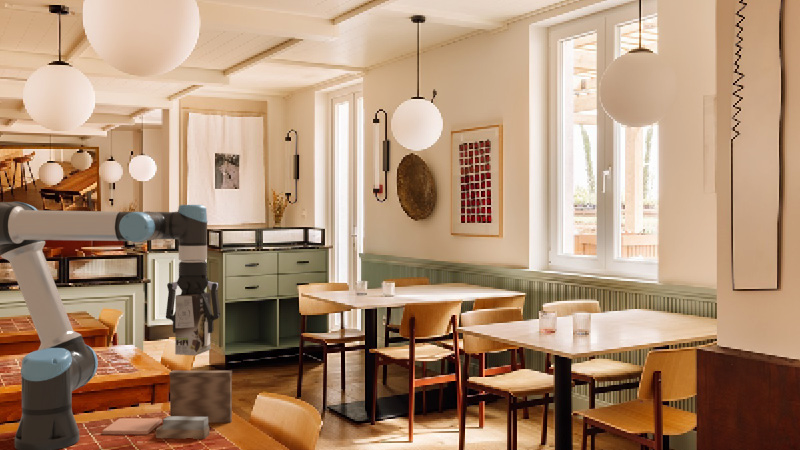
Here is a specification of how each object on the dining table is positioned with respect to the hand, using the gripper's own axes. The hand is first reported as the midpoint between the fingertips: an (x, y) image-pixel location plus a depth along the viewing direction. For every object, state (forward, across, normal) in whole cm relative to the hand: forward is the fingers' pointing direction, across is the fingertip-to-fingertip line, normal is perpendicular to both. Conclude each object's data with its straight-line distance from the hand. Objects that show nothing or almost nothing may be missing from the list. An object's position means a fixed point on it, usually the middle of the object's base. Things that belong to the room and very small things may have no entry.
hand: (193, 344), depth 212 cm
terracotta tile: (+23, +17, 0) cm, 28 cm away
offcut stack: (+23, +1, +7) cm, 24 cm away
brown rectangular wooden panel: (+23, 0, -7) cm, 24 cm away
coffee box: (+2, 0, 0) cm, 2 cm away
